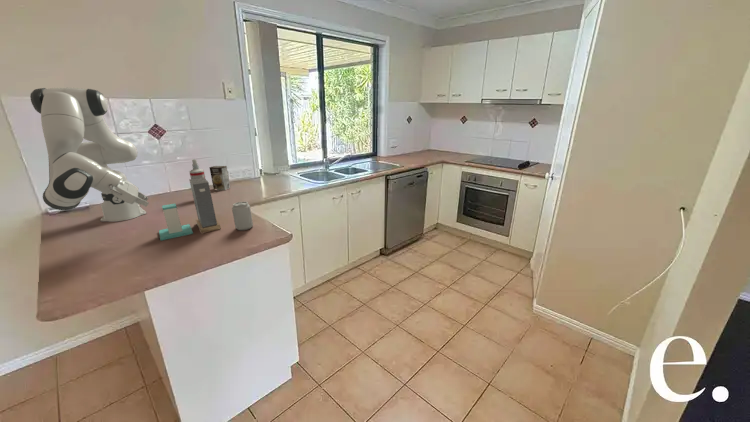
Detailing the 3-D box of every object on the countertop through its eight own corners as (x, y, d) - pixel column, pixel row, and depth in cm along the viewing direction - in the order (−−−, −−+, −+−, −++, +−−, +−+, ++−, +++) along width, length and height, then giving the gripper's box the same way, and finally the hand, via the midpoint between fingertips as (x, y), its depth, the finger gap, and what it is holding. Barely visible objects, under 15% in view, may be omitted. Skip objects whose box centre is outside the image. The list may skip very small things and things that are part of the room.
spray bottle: (192, 200, 184) (183, 160, 176) (203, 197, 191) (195, 158, 183) (202, 201, 182) (192, 160, 174) (212, 198, 188) (204, 158, 180)
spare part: (168, 230, 135) (161, 205, 131) (181, 227, 138) (175, 203, 134) (169, 233, 131) (162, 208, 127) (182, 231, 134) (176, 205, 130)
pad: (159, 232, 136) (158, 230, 136) (189, 226, 143) (189, 224, 142) (160, 240, 127) (160, 238, 127) (193, 233, 134) (192, 231, 133)
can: (236, 232, 134) (231, 206, 130) (235, 226, 140) (230, 202, 136) (254, 229, 137) (250, 203, 133) (252, 224, 143) (248, 199, 139)
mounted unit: (196, 223, 145) (186, 179, 138) (214, 220, 150) (205, 176, 143) (201, 233, 134) (190, 185, 127) (220, 228, 138) (211, 182, 131)
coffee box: (213, 190, 208) (208, 167, 203) (219, 188, 214) (215, 165, 209) (225, 190, 207) (220, 167, 202) (231, 188, 213) (226, 165, 208)
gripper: (114, 181, 110) (153, 201, 119) (117, 172, 126) (152, 191, 134) (102, 195, 109) (142, 214, 118) (107, 184, 125) (142, 202, 133)
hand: (147, 202), depth 126 cm, fingers open, 8 cm apart
